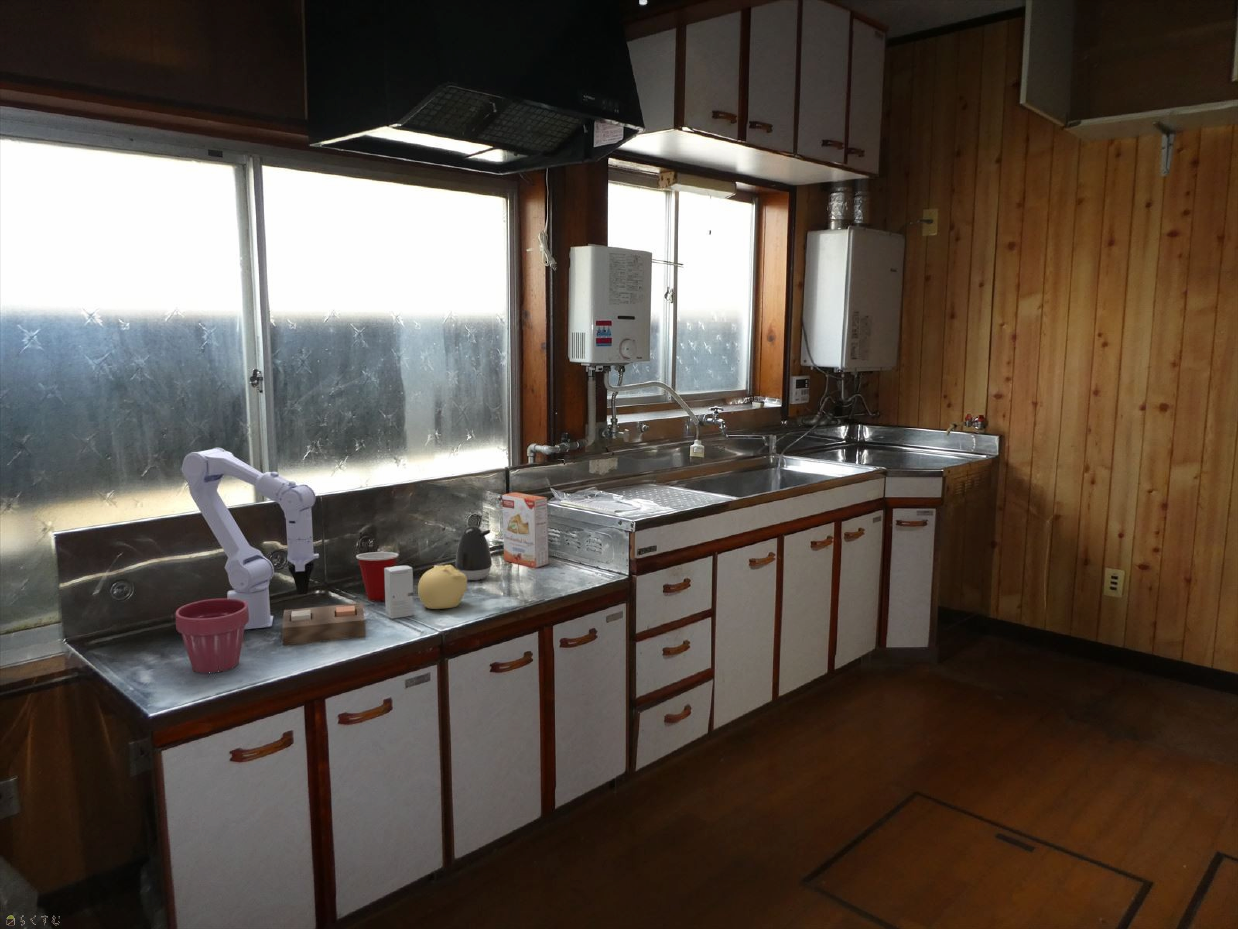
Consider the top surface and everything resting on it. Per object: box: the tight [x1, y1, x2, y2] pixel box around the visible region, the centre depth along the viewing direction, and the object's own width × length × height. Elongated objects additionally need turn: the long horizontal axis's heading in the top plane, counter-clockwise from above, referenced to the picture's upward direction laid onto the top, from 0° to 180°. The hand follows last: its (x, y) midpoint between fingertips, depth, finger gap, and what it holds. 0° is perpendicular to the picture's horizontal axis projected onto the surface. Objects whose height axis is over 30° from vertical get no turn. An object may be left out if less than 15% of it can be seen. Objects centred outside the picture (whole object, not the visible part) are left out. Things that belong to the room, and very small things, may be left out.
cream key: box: [291, 610, 311, 621], centre depth 214 cm, size 4×4×4 cm
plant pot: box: [175, 598, 249, 674], centre depth 194 cm, size 14×14×13 cm
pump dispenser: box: [455, 525, 493, 581], centre depth 261 cm, size 10×10×15 cm
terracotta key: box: [336, 606, 355, 617], centre depth 217 cm, size 4×4×4 cm
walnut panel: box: [281, 602, 366, 646], centre depth 216 cm, size 18×14×4 cm
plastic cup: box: [356, 551, 399, 602], centre depth 242 cm, size 11×11×12 cm
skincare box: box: [384, 564, 415, 620], centre depth 227 cm, size 6×4×12 cm
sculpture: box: [417, 564, 468, 610], centre depth 235 cm, size 11×12×11 cm
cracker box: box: [501, 492, 549, 569], centre depth 277 cm, size 14×6×21 cm, turn 50°
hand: (302, 593), depth 217 cm, fingers closed
